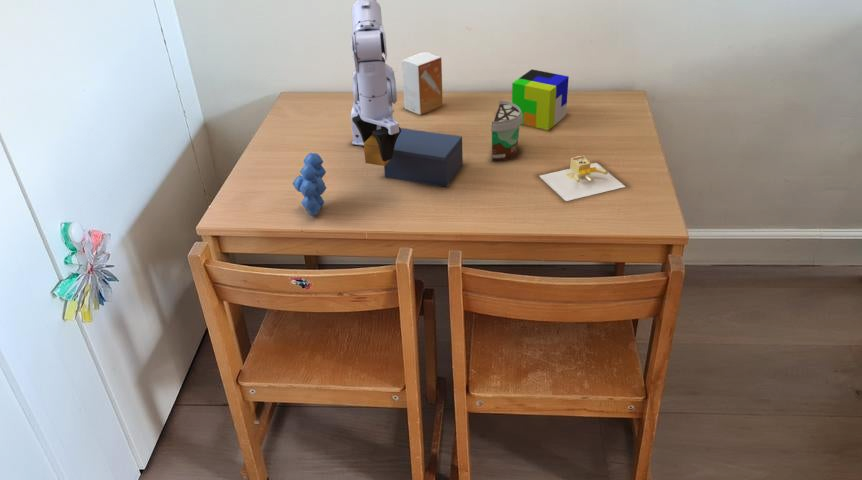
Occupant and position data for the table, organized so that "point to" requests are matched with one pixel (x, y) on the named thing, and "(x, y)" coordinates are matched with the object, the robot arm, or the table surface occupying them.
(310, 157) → the grapes
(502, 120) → the food container
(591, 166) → the character toy
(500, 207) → the table surface
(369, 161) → the block
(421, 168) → the toy box
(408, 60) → the small box
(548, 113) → the puzzle toy
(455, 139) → the lid
